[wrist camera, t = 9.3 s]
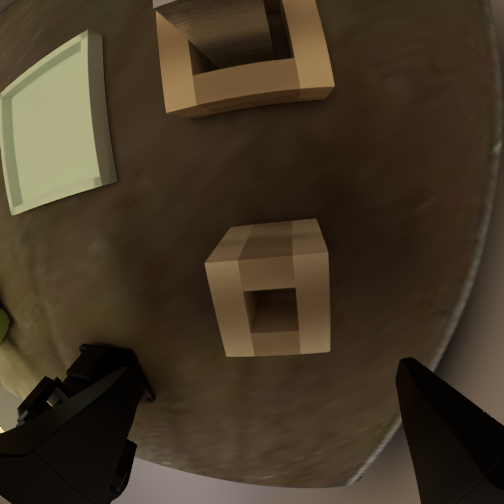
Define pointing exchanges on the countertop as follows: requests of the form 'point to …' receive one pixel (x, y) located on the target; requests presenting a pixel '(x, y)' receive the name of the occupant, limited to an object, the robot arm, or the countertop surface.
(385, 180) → the countertop surface
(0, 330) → the kettle
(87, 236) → the countertop surface
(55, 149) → the tray
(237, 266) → the beech block
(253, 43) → the grey wood bar
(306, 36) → the oak block
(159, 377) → the countertop surface
